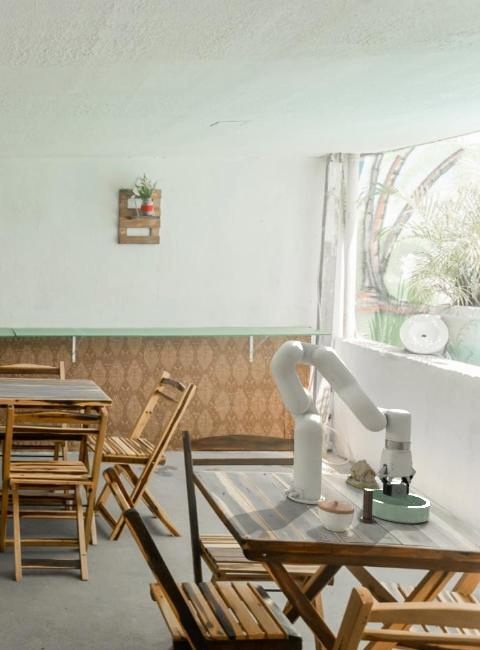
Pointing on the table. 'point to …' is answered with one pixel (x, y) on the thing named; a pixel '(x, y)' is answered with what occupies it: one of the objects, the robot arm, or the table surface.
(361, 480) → the ceramic model
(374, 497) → the bowl
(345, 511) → the trinket box
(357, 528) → the table surface
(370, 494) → the muddler
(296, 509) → the table surface
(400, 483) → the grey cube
